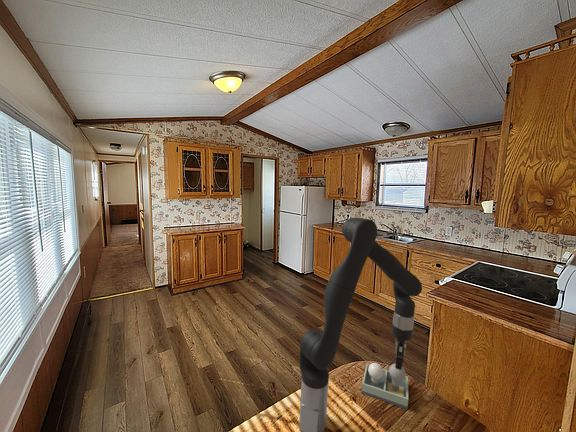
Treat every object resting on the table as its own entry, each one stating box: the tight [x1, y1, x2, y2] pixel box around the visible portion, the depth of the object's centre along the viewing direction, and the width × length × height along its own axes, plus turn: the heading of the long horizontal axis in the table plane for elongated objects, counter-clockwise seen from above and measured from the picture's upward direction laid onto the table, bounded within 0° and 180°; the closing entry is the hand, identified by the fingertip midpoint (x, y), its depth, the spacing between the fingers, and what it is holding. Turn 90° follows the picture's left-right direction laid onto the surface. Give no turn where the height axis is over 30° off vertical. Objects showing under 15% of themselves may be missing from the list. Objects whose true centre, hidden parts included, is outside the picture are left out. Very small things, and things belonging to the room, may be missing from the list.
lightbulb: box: [388, 363, 407, 391], centre depth 105 cm, size 6×6×11 cm
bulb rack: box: [361, 362, 409, 410], centre depth 107 cm, size 13×17×10 cm
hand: (398, 362), depth 103 cm, fingers open, 8 cm apart
